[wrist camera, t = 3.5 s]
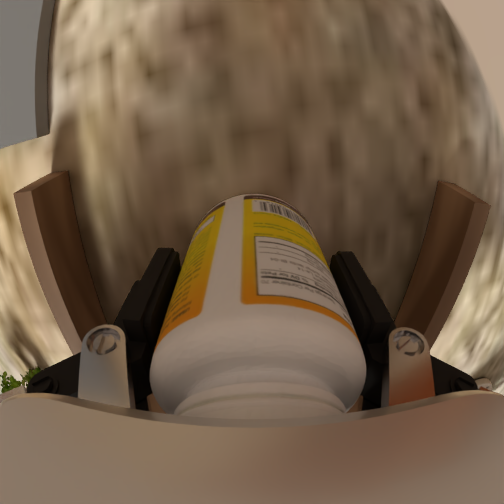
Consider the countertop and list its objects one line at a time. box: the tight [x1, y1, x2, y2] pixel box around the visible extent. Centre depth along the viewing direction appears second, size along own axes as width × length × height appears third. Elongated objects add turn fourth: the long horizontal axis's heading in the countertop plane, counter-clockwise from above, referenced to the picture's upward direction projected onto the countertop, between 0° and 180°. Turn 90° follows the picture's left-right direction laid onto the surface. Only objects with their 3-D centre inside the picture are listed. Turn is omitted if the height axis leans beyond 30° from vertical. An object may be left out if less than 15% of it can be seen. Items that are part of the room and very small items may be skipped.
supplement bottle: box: [150, 194, 366, 419], centre depth 9 cm, size 6×6×10 cm
